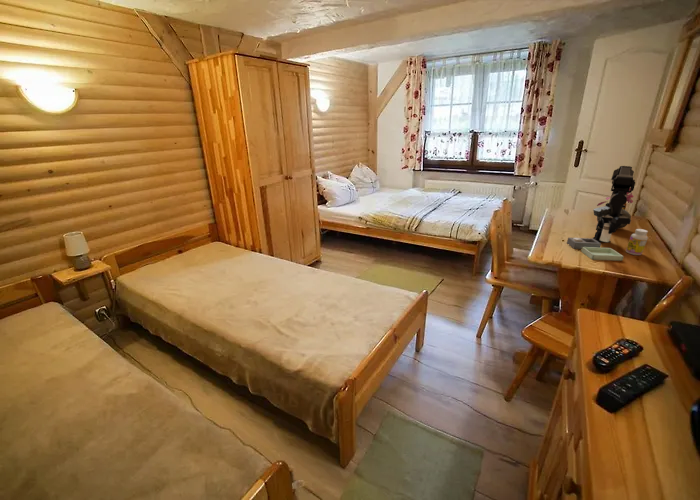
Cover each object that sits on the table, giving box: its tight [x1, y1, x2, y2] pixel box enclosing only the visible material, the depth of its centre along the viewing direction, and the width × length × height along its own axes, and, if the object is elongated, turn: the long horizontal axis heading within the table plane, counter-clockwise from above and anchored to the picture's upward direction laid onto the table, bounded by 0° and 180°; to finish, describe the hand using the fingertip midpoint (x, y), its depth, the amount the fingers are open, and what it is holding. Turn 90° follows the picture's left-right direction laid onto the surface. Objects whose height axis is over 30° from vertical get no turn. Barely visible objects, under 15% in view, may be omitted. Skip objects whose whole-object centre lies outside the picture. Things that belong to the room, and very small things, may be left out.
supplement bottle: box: [625, 228, 649, 256], centre depth 167 cm, size 7×7×13 cm
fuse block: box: [566, 237, 602, 250], centre depth 178 cm, size 13×8×4 cm, turn 82°
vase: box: [596, 189, 634, 230], centre depth 200 cm, size 17×18×30 cm
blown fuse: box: [600, 223, 613, 243], centre depth 162 cm, size 4×4×9 cm
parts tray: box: [580, 247, 625, 262], centre depth 166 cm, size 14×11×2 cm
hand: (607, 232), depth 162 cm, fingers closed on blown fuse, 4 cm apart
